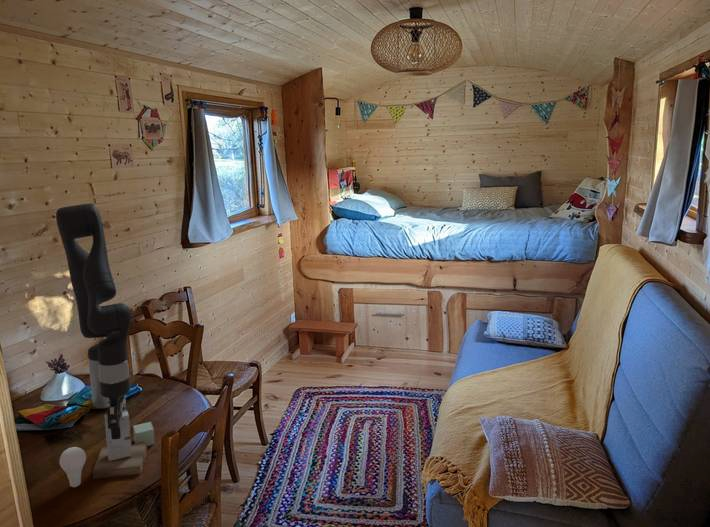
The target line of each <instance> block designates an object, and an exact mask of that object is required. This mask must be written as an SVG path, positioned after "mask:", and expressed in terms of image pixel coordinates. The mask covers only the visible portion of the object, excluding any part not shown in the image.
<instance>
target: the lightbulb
mask: <svg viewBox="0 0 710 527" xmlns="http://www.w3.org/2000/svg"><path fill="white" fill-rule="evenodd" d="M86 461H87V455H86V452H85V450H84V449H83V448H81V447H78V446H73V447H68V448H67V449H65V450H64V451H63V452H62V453H61V455H60V457H59V466H60V467H61V470H63V471H64V472H65V474H66V475H67V479H68V481H69V486H70V487H71V488H78V487H79V486H80V485H81V484H82V478H81V477H82V470H83V467H84V466H85V464H86Z"/></svg>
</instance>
